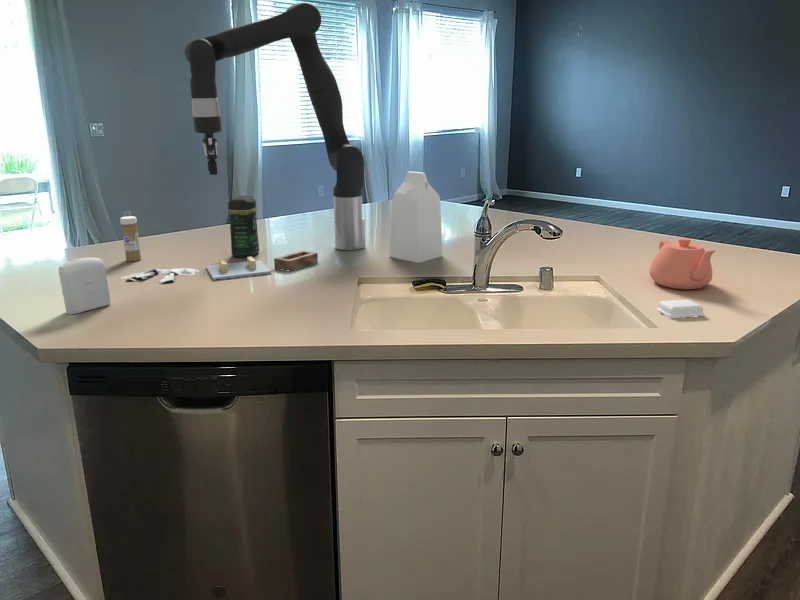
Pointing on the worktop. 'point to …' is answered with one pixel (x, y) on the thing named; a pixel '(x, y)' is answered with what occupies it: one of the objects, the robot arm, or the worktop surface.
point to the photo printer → (84, 284)
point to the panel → (237, 269)
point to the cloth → (168, 278)
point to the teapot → (681, 265)
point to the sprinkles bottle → (130, 238)
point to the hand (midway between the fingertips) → (213, 172)
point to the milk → (416, 220)
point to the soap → (680, 308)
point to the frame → (295, 260)
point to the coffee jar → (243, 226)
